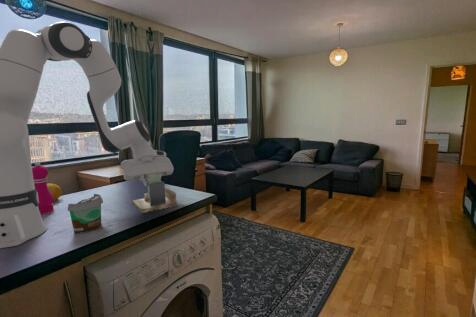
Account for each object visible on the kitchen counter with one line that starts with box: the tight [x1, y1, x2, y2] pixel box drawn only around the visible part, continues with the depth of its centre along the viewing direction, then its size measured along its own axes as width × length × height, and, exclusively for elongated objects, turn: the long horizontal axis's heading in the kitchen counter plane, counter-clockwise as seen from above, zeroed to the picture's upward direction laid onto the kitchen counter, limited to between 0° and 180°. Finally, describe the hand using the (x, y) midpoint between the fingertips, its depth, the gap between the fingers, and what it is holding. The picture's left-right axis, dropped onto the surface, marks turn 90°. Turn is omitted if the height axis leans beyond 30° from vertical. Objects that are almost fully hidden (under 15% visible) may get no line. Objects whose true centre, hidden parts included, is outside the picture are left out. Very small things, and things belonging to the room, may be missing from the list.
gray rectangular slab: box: [149, 181, 166, 206], centre depth 108 cm, size 6×1×9 cm, turn 124°
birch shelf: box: [132, 186, 177, 214], centre depth 113 cm, size 14×14×6 cm
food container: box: [67, 193, 104, 234], centre depth 90 cm, size 12×6×10 cm, turn 168°
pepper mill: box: [32, 161, 55, 215], centre depth 106 cm, size 7×7×20 cm
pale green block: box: [146, 174, 159, 199], centre depth 111 cm, size 4×5×10 cm
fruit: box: [47, 182, 62, 202], centre depth 120 cm, size 9×8×8 cm
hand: (153, 184), depth 111 cm, fingers closed on pale green block, 4 cm apart
